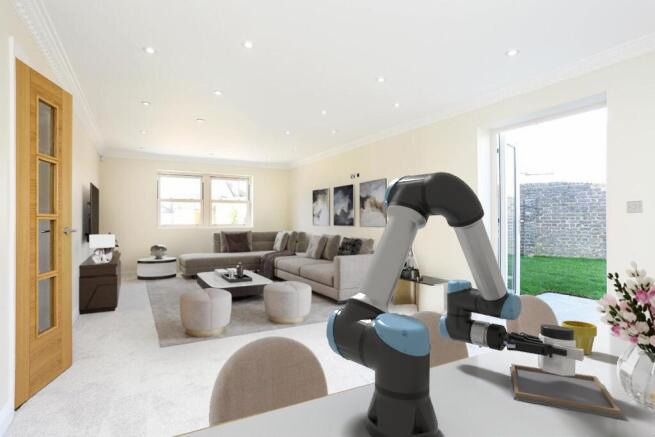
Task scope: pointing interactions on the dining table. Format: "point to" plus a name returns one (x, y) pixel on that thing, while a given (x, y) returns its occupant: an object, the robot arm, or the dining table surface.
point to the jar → (556, 363)
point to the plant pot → (582, 334)
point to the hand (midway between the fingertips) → (582, 355)
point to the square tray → (562, 391)
